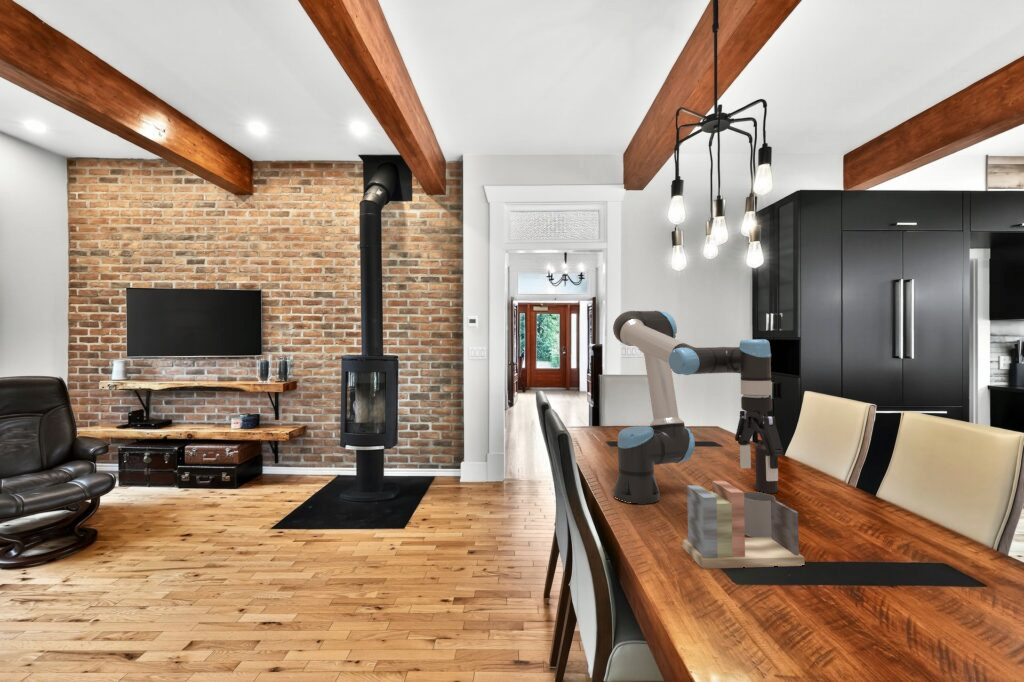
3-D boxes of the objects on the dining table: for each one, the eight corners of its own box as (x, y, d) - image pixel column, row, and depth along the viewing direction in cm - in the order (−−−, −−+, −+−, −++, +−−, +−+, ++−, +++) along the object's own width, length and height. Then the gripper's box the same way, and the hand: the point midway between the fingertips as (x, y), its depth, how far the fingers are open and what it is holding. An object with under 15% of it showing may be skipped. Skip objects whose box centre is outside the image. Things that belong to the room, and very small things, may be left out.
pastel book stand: (682, 547, 126) (681, 480, 126) (775, 544, 127) (774, 478, 127) (702, 568, 114) (701, 494, 114) (804, 565, 115) (803, 492, 115)
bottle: (781, 491, 171) (780, 433, 172) (771, 494, 168) (770, 435, 168) (762, 486, 177) (761, 430, 177) (751, 490, 173) (750, 433, 173)
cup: (762, 541, 129) (761, 502, 129) (735, 531, 136) (734, 494, 136) (782, 535, 133) (782, 497, 133) (755, 525, 140) (754, 490, 140)
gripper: (797, 400, 123) (800, 486, 122) (746, 391, 147) (748, 463, 147) (767, 400, 122) (770, 487, 122) (721, 392, 147) (723, 463, 147)
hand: (758, 474), depth 134 cm, fingers open, 13 cm apart
